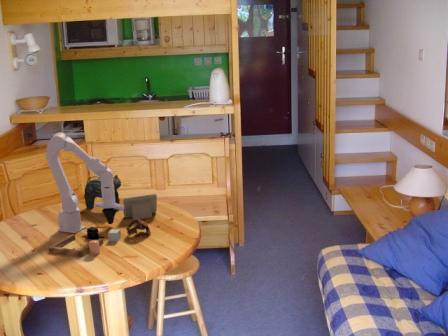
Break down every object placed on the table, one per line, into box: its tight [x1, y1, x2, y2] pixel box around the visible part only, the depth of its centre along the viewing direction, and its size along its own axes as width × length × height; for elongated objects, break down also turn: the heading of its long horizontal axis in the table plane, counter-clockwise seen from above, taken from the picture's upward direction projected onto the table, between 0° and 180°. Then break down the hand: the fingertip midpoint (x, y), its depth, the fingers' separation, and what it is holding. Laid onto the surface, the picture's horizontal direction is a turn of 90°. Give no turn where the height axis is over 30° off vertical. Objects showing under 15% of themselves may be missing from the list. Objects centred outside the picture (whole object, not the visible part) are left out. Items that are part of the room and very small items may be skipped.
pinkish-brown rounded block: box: [88, 240, 101, 256], centre depth 224 cm, size 4×4×5 cm
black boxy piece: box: [81, 226, 105, 241], centre depth 242 cm, size 12×7×5 cm, turn 54°
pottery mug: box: [126, 218, 152, 237], centre depth 243 cm, size 12×10×8 cm
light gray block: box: [107, 228, 122, 243], centre depth 238 cm, size 4×4×4 cm
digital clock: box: [122, 193, 158, 221], centre depth 264 cm, size 16×9×11 cm, turn 98°
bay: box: [48, 233, 104, 258], centre depth 231 cm, size 16×15×2 cm
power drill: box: [83, 174, 122, 212], centre depth 275 cm, size 20×6×20 cm, turn 69°
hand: (110, 223), depth 253 cm, fingers closed
